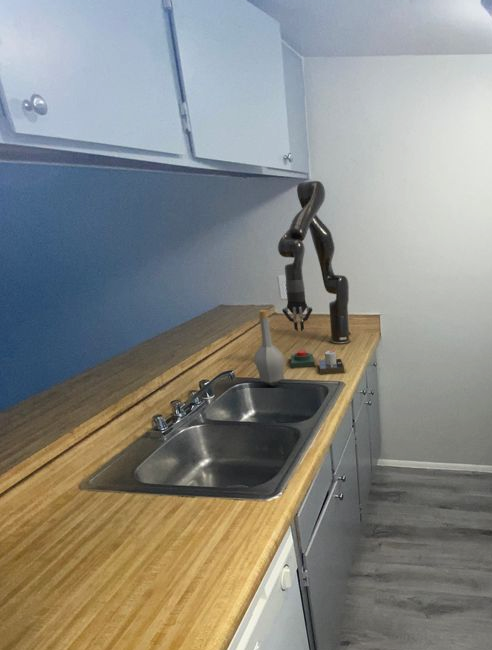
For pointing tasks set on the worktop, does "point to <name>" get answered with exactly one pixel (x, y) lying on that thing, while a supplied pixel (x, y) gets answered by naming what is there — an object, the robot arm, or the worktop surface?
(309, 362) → the dark green button base
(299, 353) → the nozzle button
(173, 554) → the worktop surface
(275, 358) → the bottle
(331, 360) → the dial
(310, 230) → the robot arm
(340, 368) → the dial panel
